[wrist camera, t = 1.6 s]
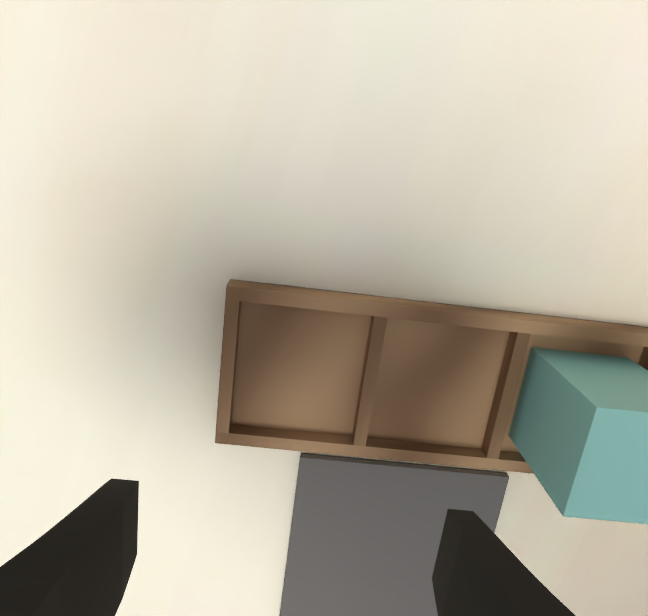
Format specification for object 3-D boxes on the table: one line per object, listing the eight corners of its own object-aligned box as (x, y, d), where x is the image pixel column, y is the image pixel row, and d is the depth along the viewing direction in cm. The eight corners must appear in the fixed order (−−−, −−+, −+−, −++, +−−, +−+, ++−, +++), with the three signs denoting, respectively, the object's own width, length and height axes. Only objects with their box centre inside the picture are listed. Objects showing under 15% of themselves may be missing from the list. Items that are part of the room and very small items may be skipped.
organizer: (656, 328, 21) (673, 337, 20) (610, 468, 23) (623, 481, 22) (230, 279, 20) (226, 286, 19) (219, 429, 22) (215, 442, 21)
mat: (506, 473, 23) (509, 477, 23) (464, 631, 26) (466, 637, 25) (300, 453, 22) (300, 457, 22) (279, 617, 25) (279, 622, 25)
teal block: (628, 357, 21) (721, 420, 16) (600, 444, 22) (679, 526, 18) (531, 346, 21) (597, 407, 16) (508, 435, 22) (563, 516, 17)
